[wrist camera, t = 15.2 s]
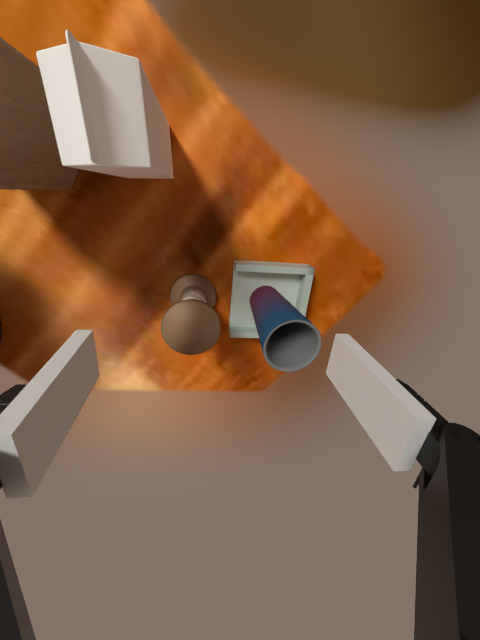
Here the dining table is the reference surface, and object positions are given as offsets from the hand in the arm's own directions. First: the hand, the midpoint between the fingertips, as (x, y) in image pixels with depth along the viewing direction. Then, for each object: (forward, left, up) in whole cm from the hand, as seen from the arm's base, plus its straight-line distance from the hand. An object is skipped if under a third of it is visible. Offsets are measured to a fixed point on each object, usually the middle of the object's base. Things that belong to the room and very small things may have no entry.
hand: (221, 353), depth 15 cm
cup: (+9, -7, -28) cm, 30 cm away
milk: (-8, +12, -29) cm, 32 cm away
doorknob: (-2, -7, -29) cm, 30 cm away
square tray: (+10, -7, -29) cm, 31 cm away
